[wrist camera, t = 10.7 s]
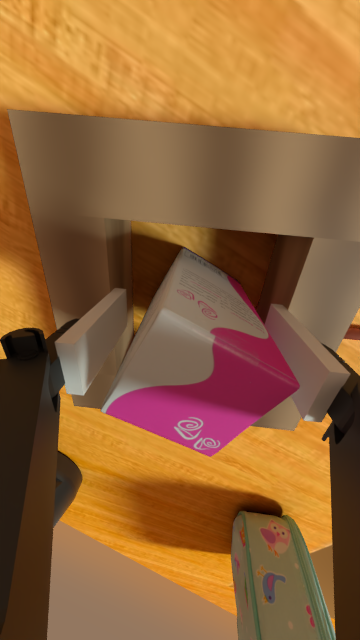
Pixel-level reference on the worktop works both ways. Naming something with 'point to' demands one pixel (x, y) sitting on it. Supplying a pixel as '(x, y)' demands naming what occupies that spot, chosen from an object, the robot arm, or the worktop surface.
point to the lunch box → (276, 581)
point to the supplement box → (199, 361)
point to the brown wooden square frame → (191, 215)
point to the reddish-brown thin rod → (352, 334)
